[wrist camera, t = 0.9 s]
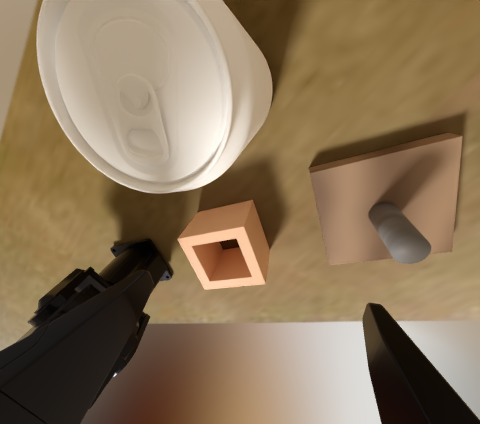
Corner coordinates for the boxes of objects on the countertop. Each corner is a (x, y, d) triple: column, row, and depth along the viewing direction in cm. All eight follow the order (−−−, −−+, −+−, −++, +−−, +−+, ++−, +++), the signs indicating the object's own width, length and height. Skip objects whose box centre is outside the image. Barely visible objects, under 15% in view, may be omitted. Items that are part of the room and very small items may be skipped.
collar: (218, 257, 27) (204, 289, 22) (197, 212, 24) (177, 238, 20) (269, 249, 25) (265, 284, 20) (252, 199, 22) (243, 226, 18)
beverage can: (278, 28, 15) (253, -98, 5) (268, 147, 19) (244, 214, 9) (169, 31, 17) (-29, -65, 6) (181, 141, 20) (73, 194, 10)
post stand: (327, 255, 23) (338, 307, 18) (308, 167, 19) (316, 199, 14) (441, 241, 20) (499, 299, 15) (448, 132, 16) (532, 155, 11)
